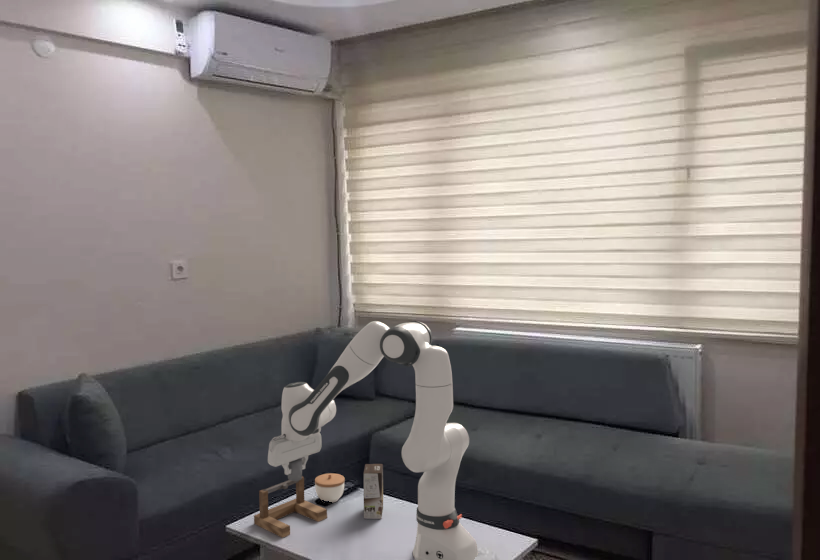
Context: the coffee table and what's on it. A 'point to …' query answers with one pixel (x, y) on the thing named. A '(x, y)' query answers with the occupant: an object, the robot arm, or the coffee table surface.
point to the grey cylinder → (295, 470)
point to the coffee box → (373, 491)
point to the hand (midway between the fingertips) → (295, 471)
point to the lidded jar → (329, 486)
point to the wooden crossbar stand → (286, 509)
